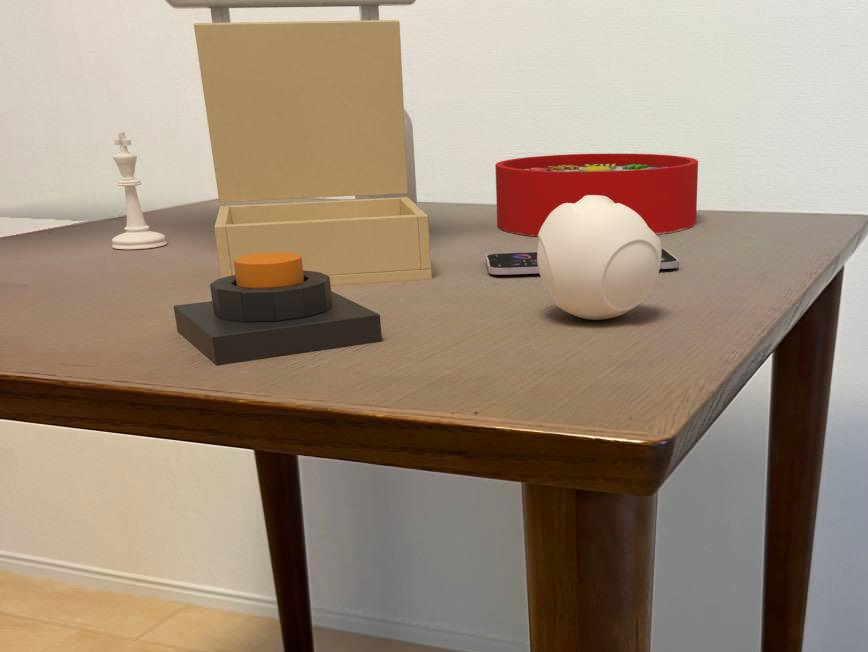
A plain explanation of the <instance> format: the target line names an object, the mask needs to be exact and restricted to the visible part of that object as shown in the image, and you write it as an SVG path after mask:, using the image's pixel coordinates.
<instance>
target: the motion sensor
mask: <svg viewBox="0 0 868 652" xmlns="http://www.w3.org/2000/svg"><path fill="white" fill-rule="evenodd" d="M537 241H538V242H537V243H538V244H537V250H536V252H537V263H538V269H539V273H538V274H539V276H540V279H541V282H542V284H543V286H544V288H545V289H546V291H547V293H548V294H549V296H550V297H551V298H552V300H554V303H555V306H557V307H558V308H559V309H561V310H562V311H564V312H566V313H568V314H570V315H572V316H575V317H578V318H581V319H585V320H590V321H591V320H592V321H601V320H609V319H613V318H616V317H619V316H622V315H624V314H626V313H627V312H629V311H631V310H633V309H635V308H636V307H637V306H639V304H640V303H642V302H643V301H644V300H645V299H646V298H647V297H648V296H649V294H650V292H651V291H652V289H653V287H654V286H655V284H656V281H657V279H658V276H659V273H660V270H661V269H660V264H661V251H662V249H663V248H662V241H661V239H660V238H659V236H658V235H656V234H655V233H654V232H653V231H652V230H651V229H650V228H649V227H648V226H647V224H646V222H645V221H644V220H643V219H642V218H641V216H639V215H638V214H637V213H636V212H635V211H633V210H632V209H630V208H629V207H627V206H625V205H623V204H620V203H616V204H615V203H614V202H613V201H612V200H611V199H609V198H608V197H606V196H600V195H587V196H584V197H583V198H582V199H581V200H579V201H578V202H576V203H575V204H573V203H564V204H562V205H560V206H558V207H557V208H556V209H554V210H553V211H552V212H551V213H550V214H549V216H548V217H547V219H546V220H545V222H544V223H543V225H542V227H541V229H540V231H539V234H538V236H537ZM661 248H662V249H661Z"/></svg>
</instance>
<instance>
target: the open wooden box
mask: <svg viewBox="0 0 868 652" xmlns="http://www.w3.org/2000/svg"><path fill="white" fill-rule="evenodd" d="M213 228H214V234H215V241H216V242H215V243H216V249H217V256H218V264H219V271H220V278H223V277H228V276H232V275H235V267H234V259H235V258H237V257H240V256H244V255H250V254H258V253H272V252H285V253H295V254H299V255H301V257H302V266H303V270H305V271H315V272H321V273H323V274H325V275H327V276H329V277H330V285H331V287H334V286H347V285H349V286H350V285H363V284H364V285H365V284H379V283H396V282H411V281H424V280H425V281H427V280H432V279H433V273H432V272H433V271H432V257H431V243H430V242H431V240H430V223H429V215H428V214H427V213H426V212H425V211H423V210H422V209H421V208H420V207H419V206H418V204H417V205H416V204H415V203H414V202H412V201H411V200H410V199H409V198H408V197H399V198H398V197H395V198H375V199H355V198H353V199H337V200H334V199H333V200H315V201H296V202H294V201H293V202H275V203H254V204H253V203H251V204H236V205H235V204H234V205H231V204H230V205H220V206H219V209H218V213H217V216H216V220H215V224H214V226H213Z"/></svg>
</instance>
